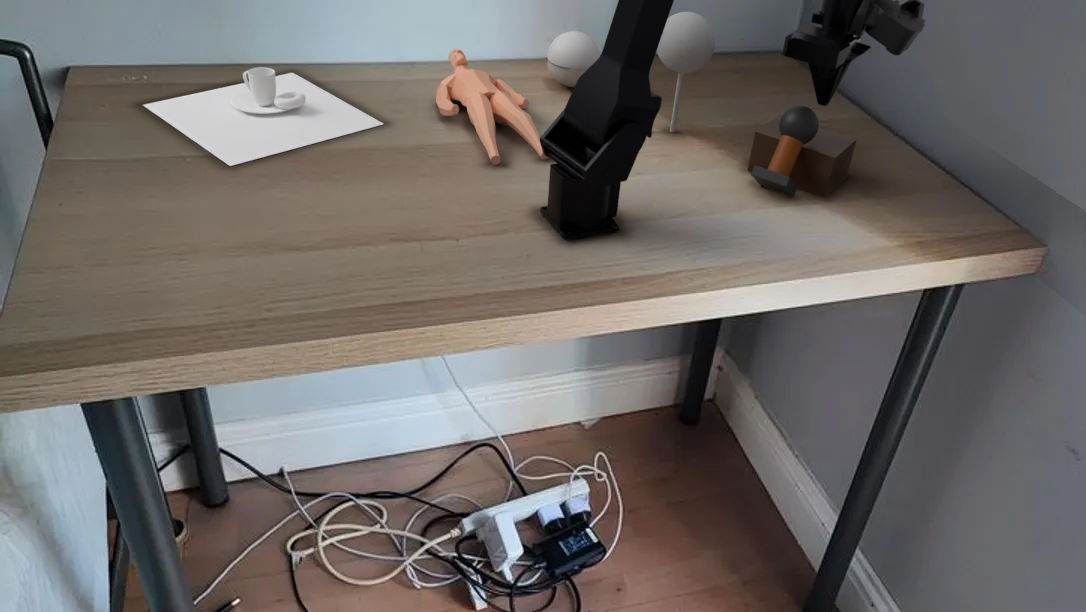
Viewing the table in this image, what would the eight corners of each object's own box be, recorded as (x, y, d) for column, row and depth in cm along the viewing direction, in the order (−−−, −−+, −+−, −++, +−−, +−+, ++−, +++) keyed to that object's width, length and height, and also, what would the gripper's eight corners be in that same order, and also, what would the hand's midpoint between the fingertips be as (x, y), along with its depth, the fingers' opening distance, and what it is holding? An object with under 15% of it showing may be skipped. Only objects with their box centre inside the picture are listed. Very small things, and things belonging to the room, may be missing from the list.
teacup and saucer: (316, 110, 116) (314, 77, 113) (257, 124, 111) (253, 91, 108) (277, 87, 120) (274, 55, 118) (218, 100, 115) (213, 67, 113)
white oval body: (535, 78, 131) (538, 25, 127) (581, 73, 135) (586, 21, 130) (569, 105, 125) (574, 50, 120) (617, 99, 128) (623, 46, 124)
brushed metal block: (824, 197, 110) (835, 157, 107) (747, 170, 114) (755, 131, 111) (846, 177, 115) (856, 139, 112) (771, 152, 118) (779, 114, 116)
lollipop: (700, 124, 124) (719, 8, 115) (699, 146, 118) (720, 25, 109) (646, 117, 124) (661, 0, 115) (643, 139, 118) (658, 18, 109)
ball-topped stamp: (781, 207, 106) (800, 127, 101) (746, 194, 108) (763, 115, 103) (809, 183, 112) (828, 107, 107) (775, 172, 114) (793, 96, 109)
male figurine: (477, 140, 105) (414, 45, 121) (475, 179, 108) (414, 81, 125) (566, 132, 109) (493, 41, 126) (562, 169, 112) (491, 76, 129)
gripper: (900, 2, 93) (859, 149, 102) (952, -30, 107) (912, 103, 116) (796, -24, 98) (766, 118, 107) (859, -52, 111) (827, 77, 120)
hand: (822, 104), depth 112 cm, fingers closed
